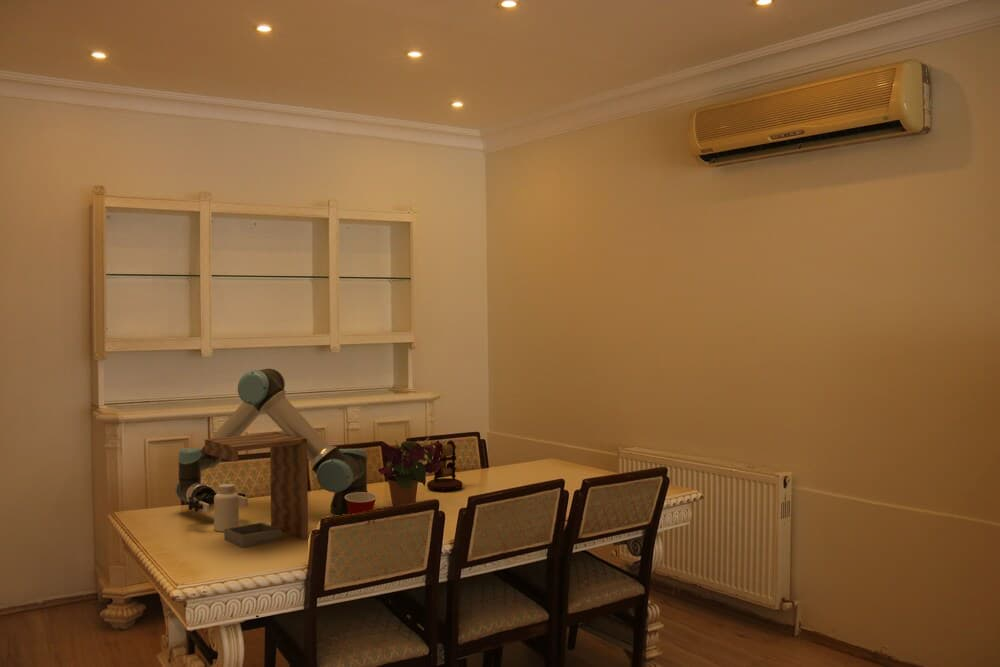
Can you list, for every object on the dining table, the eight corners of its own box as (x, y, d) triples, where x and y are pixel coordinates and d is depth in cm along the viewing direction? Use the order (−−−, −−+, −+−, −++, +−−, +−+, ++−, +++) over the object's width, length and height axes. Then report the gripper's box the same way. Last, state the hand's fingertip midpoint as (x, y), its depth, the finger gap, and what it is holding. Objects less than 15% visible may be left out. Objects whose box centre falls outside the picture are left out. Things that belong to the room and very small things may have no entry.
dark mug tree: (447, 484, 365) (447, 437, 365) (469, 489, 354) (469, 441, 354) (419, 488, 355) (419, 441, 355) (442, 494, 344) (441, 445, 344)
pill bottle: (243, 527, 291) (243, 483, 291) (228, 533, 284) (228, 488, 283) (224, 525, 294) (223, 482, 293) (209, 531, 286) (208, 486, 286)
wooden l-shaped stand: (205, 539, 275) (204, 439, 274) (276, 526, 292) (275, 432, 291) (235, 553, 260) (234, 446, 259) (307, 538, 277) (307, 438, 276)
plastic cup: (350, 536, 279) (350, 500, 278) (340, 529, 288) (340, 494, 288) (381, 532, 284) (381, 496, 283) (371, 525, 293) (371, 490, 293)
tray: (224, 539, 275) (224, 528, 275) (261, 532, 284) (261, 522, 284) (243, 547, 266) (242, 536, 266) (280, 540, 274) (280, 529, 274)
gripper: (234, 500, 311) (262, 510, 296) (166, 511, 294) (191, 522, 279) (234, 480, 311) (261, 489, 296) (166, 490, 294) (191, 499, 279)
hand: (227, 505), depth 287 cm, fingers open, 13 cm apart
